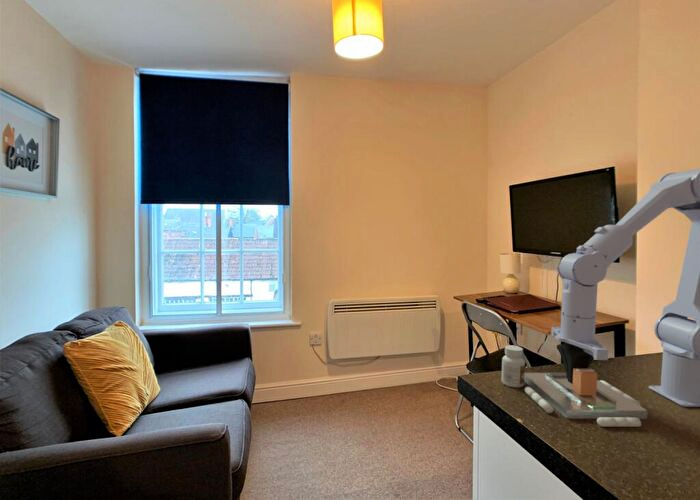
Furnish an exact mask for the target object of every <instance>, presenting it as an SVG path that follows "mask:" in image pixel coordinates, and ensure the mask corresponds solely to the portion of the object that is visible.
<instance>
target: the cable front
mask: <svg viewBox="0 0 700 500" xmlns="http://www.w3.org/2000/svg"><path fill="white" fill-rule="evenodd" d="M524 392H525V394H527V395H528V396H529V397H530V398H531V399H532V400H533V401H534V402H535V403H536V404H537V405H539V407H541V408H542V409H543V410H544V411H545V412H546V413H547V414H552V413H553V412H554V410H555V408H554V407H553V406H552V405H551V404H549V403H548V402H547V401H546V400H545V399H544V398H543V397H541V396H540V395H539V394H538V393H537V392H536V391H535V390H534V389H532V388H531V387H530V386H526V387H525V388H524Z"/></svg>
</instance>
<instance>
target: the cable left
mask: <svg viewBox="0 0 700 500" xmlns="http://www.w3.org/2000/svg"><path fill="white" fill-rule="evenodd" d="M596 423H597V424H598V425H599V426H600V427H603V428H604V427H606V428H607V427H609V428H610V427H611V428H612V427H615V428H616V427H617V428H622V427H623V428H624V427H625V428H627V427H628V428H631V427H633V428H634V427H635V428H639V427H641V426H642V421H641V419H638V418H632V417H599V418H598V419H596Z"/></svg>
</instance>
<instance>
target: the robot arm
mask: <svg viewBox="0 0 700 500" xmlns="http://www.w3.org/2000/svg"><path fill="white" fill-rule="evenodd" d="M668 209H674V210H676V211H678V212H679V213H681V214H683V215H684V216H685V217H686V218H688V220H689V221H691V225H690V231H689V233H688V240H687V244H686V249H685V254H684V258H683V263H682V269H681V273H680V277H679V282H678V287H677V292H676V296H675V300H673V301H672V302H670V303H668V304H667V305H665V306H664V307H663V308H662V312H661V315H660V317H659V318H658V319H657V320H656V322H655V324H654V329H653V331H654V335H655V336H656V338H657V339H658V341H660V346H661V348H662V349H663V350H662V359H661V360H662V361H661V362H662V363H661V373H660V374H661V376H660V385H649V386H648V389H650V390H651V391H653V392H655V393H657V394H659V395H661V396H663V397H664V398H667V399H668V400H670V401H672V402H674V403H675V404H677V405H679V406H682V407H687V408H688V407H689V408H691V407H693V408H694V407H696V408H698V407H699V408H700V168H696V169H689V170H685V171H679V172H669V173H666V174H664V175H662V176H661V177H660V178H659V179H658V180H657V181H656V182H654V183H653V184H651V185H650V187H649V191H648V192H647V193H646V194H645V195H644V196H643V197H641V199H639V201H638V202H636V204H634V206H633V207H632V208H631V209H630V210H629V211H628V212H627V213H626V214H625V215H624V216H623V217H622V218H621V219H619V221H618V222H617V223H615V224H606V225H604V226H599V227H597V228H596V229H595V230H594V233H595V234H593V236H592V237H590V238H589V240H587V241H586V242H585V243H584V244H583V245H579V246H578V247H576V251H575V252H572V253H568V254H567V255H566V254H565V255H564V257H562V259H561V260H560V263H559V264H558V265H557V266H556V271H557V274H558V275H559V277H560V278H561V281H562V284H561V286H562V291H561V293H562V294H561V312H560V314H561V315H560V326H551V329H550V331H551V332H550V335H551V336H552V337H554V340H556V341H558V342H561V344H557V345H556V349H557V351H558V353H559V355H560V356H561V360H562V363H563V366H564V370H565V373H566V375H567V379H568V382H570V383H571V384H573V368H590V365H591V364H592V362H593V361H594V360H596V361H608V359H609V349H608V348H606V347H604V346H603V345H602V344H601V343H600V342H599V341H598V340H597V339H596V323H597V322H596V318H597V316H596V315H597V303H598V302H597V299H598V285H599V283H601V282H602V281H604V280H605V278H606V276H607V270H608V268H609V267H610V266H611V265H612V264H613V263H614V262H615V261H616V260H617V259H618V258H619V257H620V256H622V255H623V254H624V253H625V252H627V251H628V250H629V249H630V248H631V247H632V246H633V245H634V244H633V243H634V242H633V241H634V240H633V236H634V235H636V234H637V233H638V232H639V231H641V230H642V229H643V228H645V227H646V226H647V225H649V224H650V223H651V222H653V221H654V220H655V219H656V218H657V217H659V216H660V215H661V214H663V213H664V212H665V211H666V210H668ZM562 342H564V343H562Z"/></svg>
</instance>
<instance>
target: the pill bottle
mask: <svg viewBox="0 0 700 500" xmlns="http://www.w3.org/2000/svg"><path fill="white" fill-rule="evenodd" d="M504 354H505V355H504V356H503V357H502V358H501V378H500V379H501V380H500V381H501V383H502V384H504V386H506V387H510V388H521V387H524V386H525V382H524V374H525V373H526V361H525V359H524V358H523V355H524V348H522V347H521V346H518V345H513V344H512V345H510V344H508V345H505V346H504Z"/></svg>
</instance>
